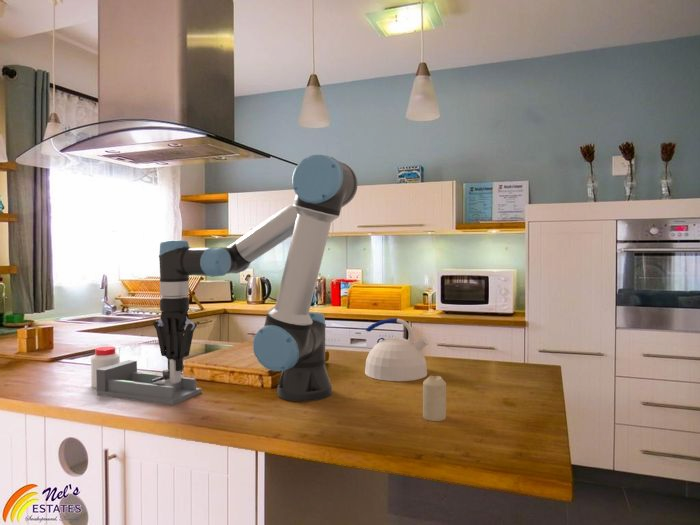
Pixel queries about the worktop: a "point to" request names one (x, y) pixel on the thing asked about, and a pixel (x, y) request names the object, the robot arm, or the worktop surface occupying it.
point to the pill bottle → (102, 361)
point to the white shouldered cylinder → (434, 399)
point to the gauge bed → (140, 385)
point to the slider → (167, 380)
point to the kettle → (396, 356)
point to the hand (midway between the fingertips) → (175, 382)
